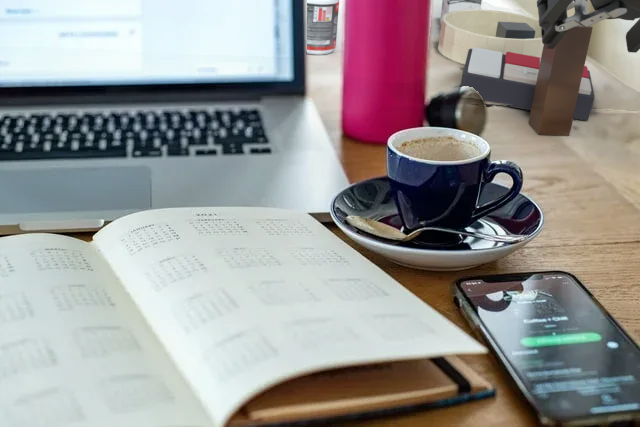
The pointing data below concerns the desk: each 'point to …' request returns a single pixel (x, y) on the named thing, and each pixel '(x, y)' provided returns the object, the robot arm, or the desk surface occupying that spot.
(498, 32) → the slate block
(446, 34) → the bowl
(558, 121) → the brown tall block
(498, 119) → the desk surface
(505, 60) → the grey switch panel
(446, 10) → the ink box
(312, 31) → the pill bottle
